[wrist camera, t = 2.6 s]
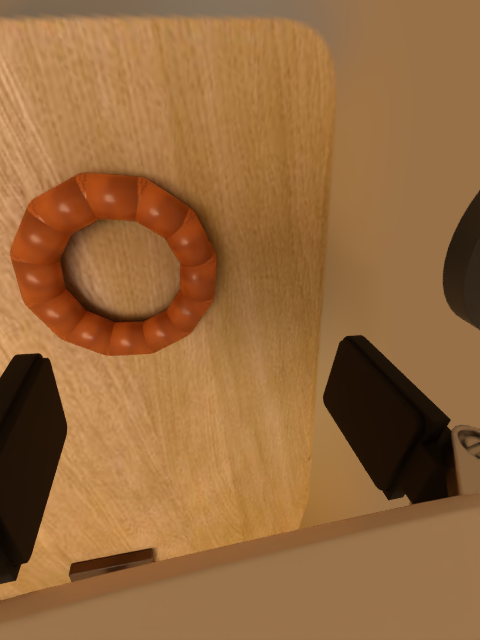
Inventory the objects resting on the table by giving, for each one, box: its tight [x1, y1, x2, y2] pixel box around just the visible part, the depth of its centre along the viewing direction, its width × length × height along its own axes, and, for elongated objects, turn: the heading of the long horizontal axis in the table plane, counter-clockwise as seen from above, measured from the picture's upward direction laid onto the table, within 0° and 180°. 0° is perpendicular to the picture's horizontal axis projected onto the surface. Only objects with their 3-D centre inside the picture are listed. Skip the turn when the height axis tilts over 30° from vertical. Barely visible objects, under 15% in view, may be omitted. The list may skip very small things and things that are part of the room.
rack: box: [69, 549, 153, 582], centre depth 31 cm, size 8×8×9 cm
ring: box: [10, 173, 217, 356], centre depth 17 cm, size 10×10×2 cm
